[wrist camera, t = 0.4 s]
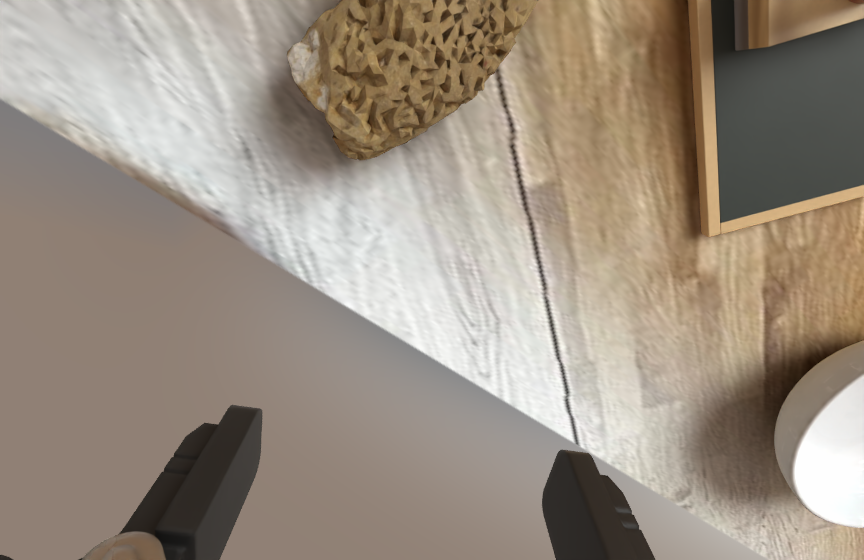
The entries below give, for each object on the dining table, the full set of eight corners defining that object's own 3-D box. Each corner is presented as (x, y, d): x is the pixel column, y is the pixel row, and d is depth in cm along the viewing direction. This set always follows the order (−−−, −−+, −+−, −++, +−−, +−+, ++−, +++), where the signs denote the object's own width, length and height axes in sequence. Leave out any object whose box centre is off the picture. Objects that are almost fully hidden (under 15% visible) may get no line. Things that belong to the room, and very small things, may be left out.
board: (684, -44, 32) (694, -49, 31) (943, -127, 30) (962, -136, 29) (700, 233, 40) (708, 237, 38) (906, 178, 38) (921, 181, 37)
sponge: (382, 168, 38) (613, 12, 30) (341, 180, 31) (629, -19, 23) (294, 22, 36) (518, -185, 28) (229, -1, 29) (504, -286, 21)
